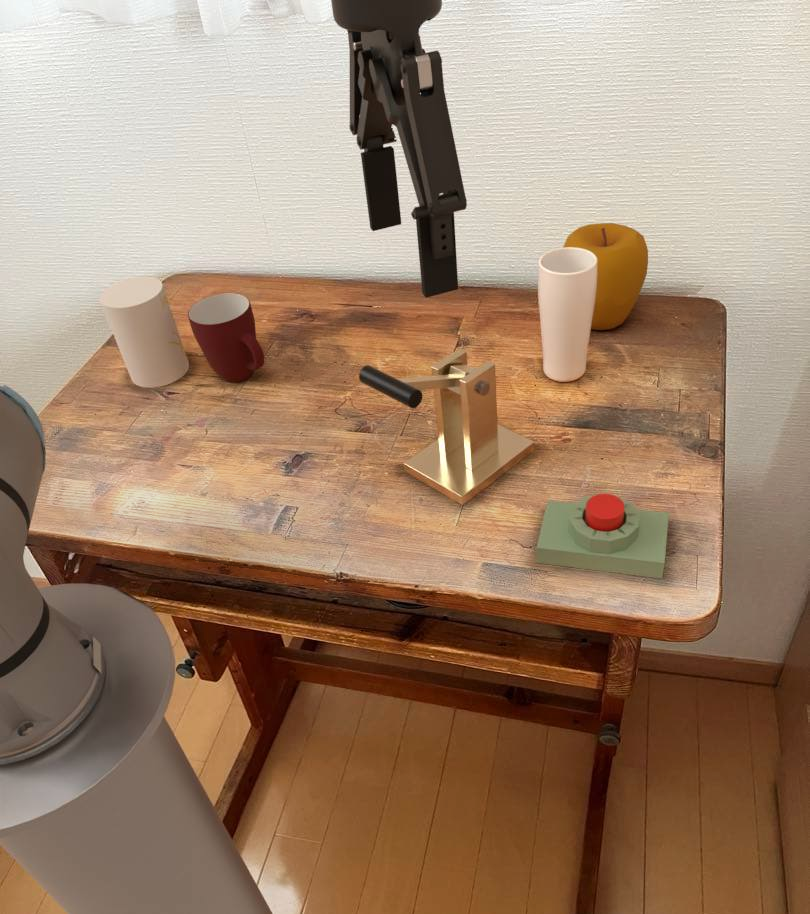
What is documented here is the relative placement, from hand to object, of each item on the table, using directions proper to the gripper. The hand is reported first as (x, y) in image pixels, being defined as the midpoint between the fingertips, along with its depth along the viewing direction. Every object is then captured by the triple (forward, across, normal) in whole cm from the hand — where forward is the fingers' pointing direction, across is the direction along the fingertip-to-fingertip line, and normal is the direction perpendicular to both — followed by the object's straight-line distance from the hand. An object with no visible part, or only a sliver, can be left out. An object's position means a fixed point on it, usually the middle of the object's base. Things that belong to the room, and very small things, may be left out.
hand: (411, 257), depth 70 cm
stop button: (+25, -12, -13) cm, 31 cm away
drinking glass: (+29, +17, -24) cm, 41 cm away
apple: (+28, +26, -34) cm, 51 cm away
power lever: (+17, +4, -1) cm, 17 cm away
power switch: (+28, +6, -6) cm, 30 cm away
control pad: (+28, -12, -13) cm, 34 cm away
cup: (+29, +44, +25) cm, 58 cm away
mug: (+29, +36, +14) cm, 48 cm away
